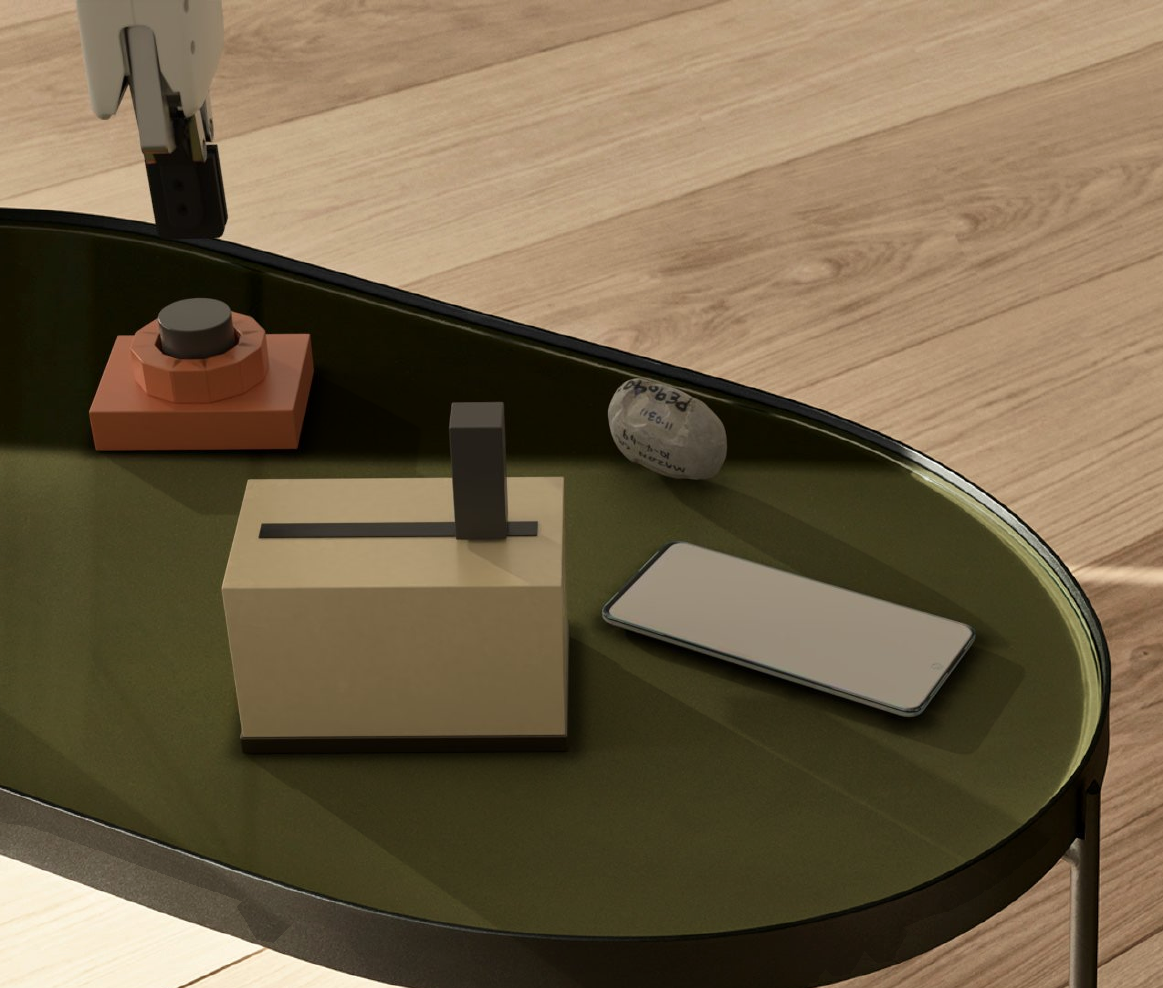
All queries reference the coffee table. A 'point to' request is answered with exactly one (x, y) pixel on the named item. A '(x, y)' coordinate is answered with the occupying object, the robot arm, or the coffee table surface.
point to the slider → (479, 470)
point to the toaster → (397, 619)
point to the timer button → (196, 329)
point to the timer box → (204, 393)
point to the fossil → (667, 430)
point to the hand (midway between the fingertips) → (193, 230)
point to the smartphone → (792, 627)
